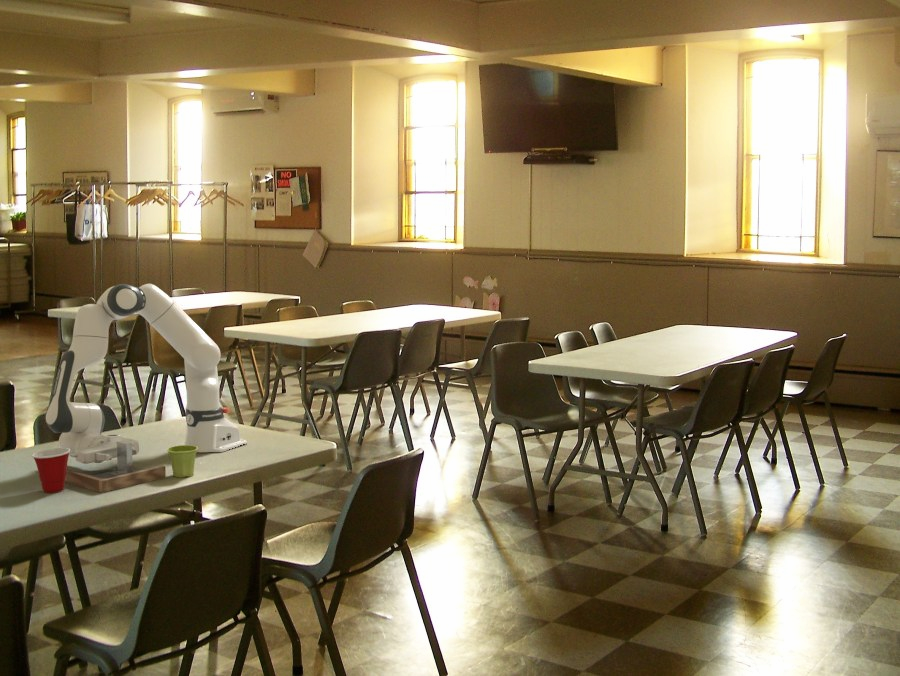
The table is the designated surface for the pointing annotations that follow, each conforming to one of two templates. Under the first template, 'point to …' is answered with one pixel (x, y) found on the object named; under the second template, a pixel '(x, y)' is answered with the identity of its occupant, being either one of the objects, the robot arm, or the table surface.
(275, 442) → the table surface
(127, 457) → the steel bookend
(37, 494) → the table surface
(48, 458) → the plastic cup
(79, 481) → the corner walls
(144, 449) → the table surface
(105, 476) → the felt mat
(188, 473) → the plant pot
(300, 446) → the table surface
